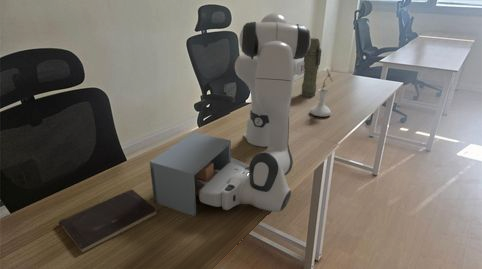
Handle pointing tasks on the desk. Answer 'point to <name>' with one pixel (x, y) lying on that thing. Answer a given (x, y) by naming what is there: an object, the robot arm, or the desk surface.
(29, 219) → the desk surface
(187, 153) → the cubby
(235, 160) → the hard drive
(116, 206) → the hardcover book
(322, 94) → the flower in vase
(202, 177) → the block
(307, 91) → the thermos
